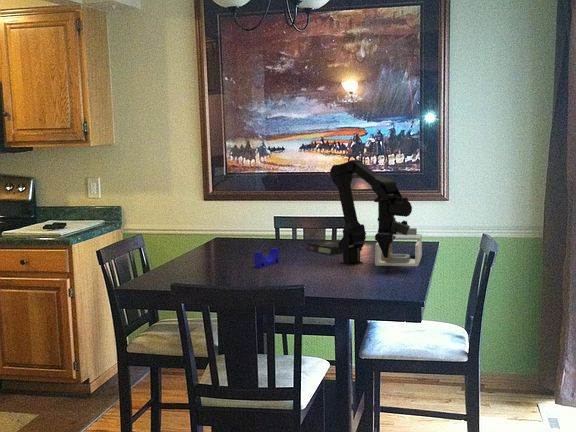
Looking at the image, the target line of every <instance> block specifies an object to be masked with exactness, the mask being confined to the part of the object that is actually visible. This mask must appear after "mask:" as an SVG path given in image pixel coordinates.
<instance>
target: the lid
mask: <svg viewBox="0 0 576 432" xmlns="http://www.w3.org/2000/svg"><path fill="white" fill-rule="evenodd" d="M417 232H418V231H417V228H416V227H410V228H409V231H408V234H407V235H403V234H402V233H399V232H397V235H395V234H393V236H396V237H395V238H394V240H393V241H395V240H396V241H401V240H402V241H417V240H420V239H421V237H423V235H422V233H417Z"/></svg>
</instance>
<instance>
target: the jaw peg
mask: <svg viewBox="0 0 576 432" xmlns="http://www.w3.org/2000/svg"><path fill="white" fill-rule="evenodd" d="M392 254H393V242H391V243H390V246H389V252H388V257H387V258H384V255H383V253H382V251H381V261H392Z"/></svg>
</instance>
